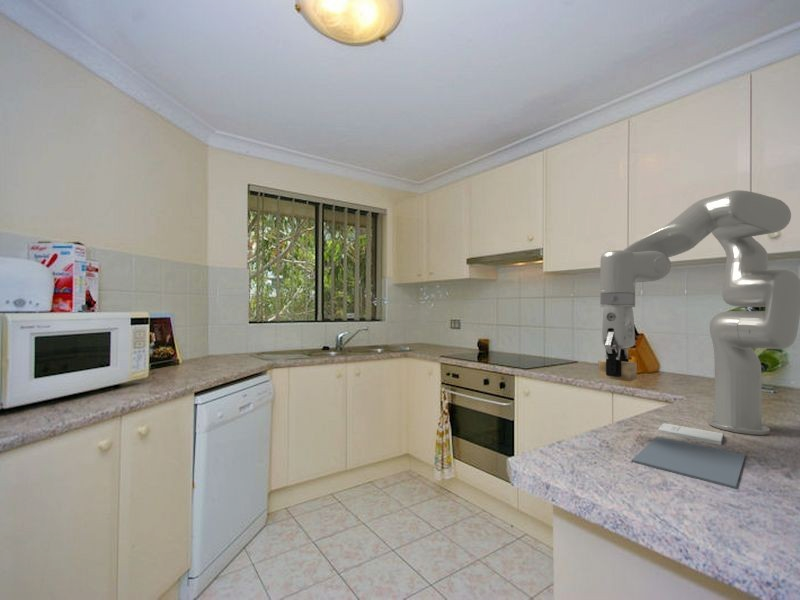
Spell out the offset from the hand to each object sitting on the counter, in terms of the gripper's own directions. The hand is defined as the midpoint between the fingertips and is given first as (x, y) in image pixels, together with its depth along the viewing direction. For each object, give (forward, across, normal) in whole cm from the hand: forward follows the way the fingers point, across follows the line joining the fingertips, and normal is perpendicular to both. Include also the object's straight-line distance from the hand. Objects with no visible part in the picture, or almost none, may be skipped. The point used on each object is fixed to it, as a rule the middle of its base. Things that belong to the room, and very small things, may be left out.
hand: (617, 374), depth 94 cm
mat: (+15, -4, -15) cm, 22 cm away
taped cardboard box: (+1, 0, 0) cm, 1 cm away
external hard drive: (+16, +17, -12) cm, 26 cm away
